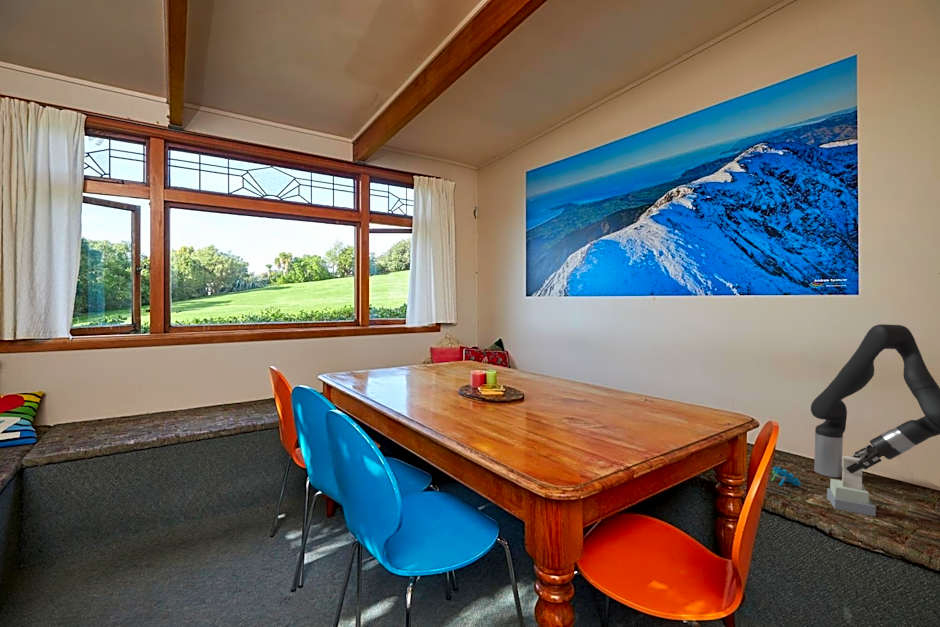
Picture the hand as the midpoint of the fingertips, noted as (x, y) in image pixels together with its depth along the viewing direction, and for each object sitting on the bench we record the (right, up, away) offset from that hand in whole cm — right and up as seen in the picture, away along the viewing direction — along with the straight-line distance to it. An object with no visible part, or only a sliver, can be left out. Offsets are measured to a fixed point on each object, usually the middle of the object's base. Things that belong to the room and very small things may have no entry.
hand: (847, 467), depth 155 cm
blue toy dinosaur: (-10, -14, +18) cm, 25 cm away
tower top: (0, -11, 0) cm, 11 cm away
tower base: (+1, -15, 0) cm, 15 cm away
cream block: (+1, -7, -1) cm, 7 cm away
